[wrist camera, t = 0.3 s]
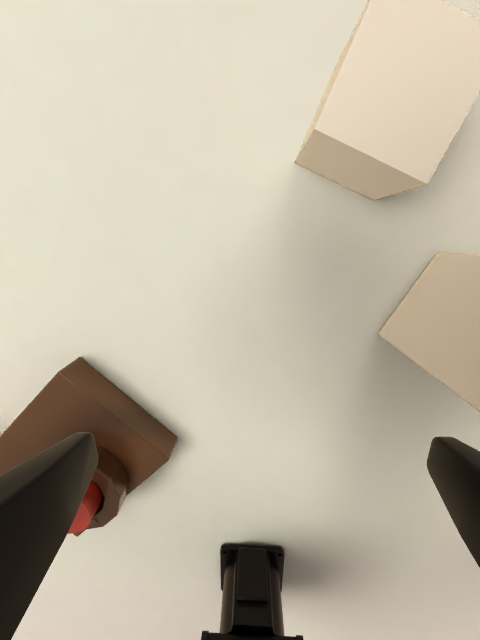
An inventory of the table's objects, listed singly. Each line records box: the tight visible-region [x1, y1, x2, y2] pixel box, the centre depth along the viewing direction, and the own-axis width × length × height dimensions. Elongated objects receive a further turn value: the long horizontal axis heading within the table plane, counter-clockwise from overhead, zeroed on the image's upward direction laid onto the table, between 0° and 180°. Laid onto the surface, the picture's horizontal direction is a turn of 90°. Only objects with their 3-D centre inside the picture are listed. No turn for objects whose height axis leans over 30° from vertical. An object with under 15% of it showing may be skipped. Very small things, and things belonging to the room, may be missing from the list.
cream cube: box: [294, 0, 480, 200], centre depth 15 cm, size 6×6×6 cm
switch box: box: [0, 357, 177, 537], centre depth 23 cm, size 11×13×4 cm
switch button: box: [68, 480, 103, 533], centre depth 21 cm, size 4×4×2 cm
